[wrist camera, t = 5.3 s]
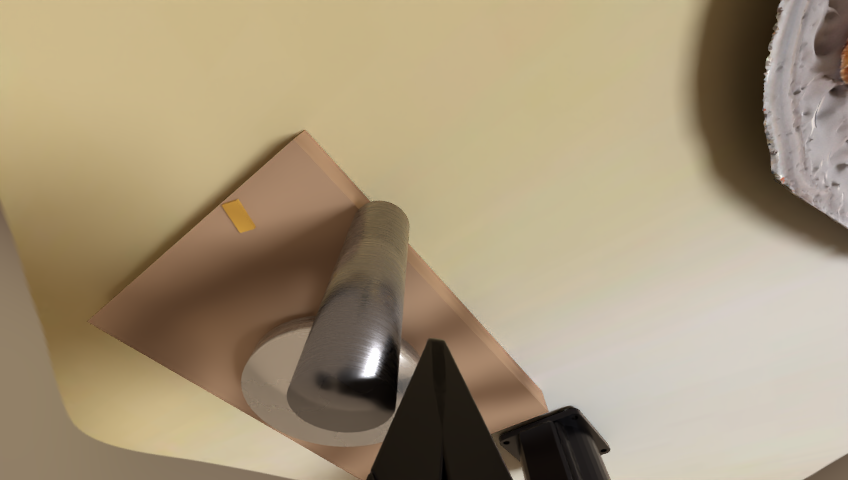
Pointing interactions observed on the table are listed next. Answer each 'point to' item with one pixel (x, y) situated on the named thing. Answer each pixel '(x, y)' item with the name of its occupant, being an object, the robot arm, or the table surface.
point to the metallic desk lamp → (342, 344)
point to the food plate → (810, 103)
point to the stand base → (293, 294)
